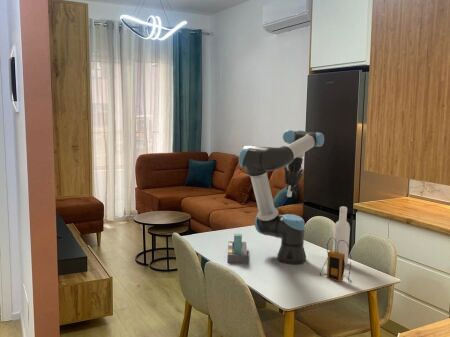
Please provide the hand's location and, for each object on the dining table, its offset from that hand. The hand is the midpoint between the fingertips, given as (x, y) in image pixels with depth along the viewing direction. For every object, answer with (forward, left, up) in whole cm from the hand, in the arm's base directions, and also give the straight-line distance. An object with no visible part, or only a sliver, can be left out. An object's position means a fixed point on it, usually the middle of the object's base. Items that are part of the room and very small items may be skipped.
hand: (288, 196), depth 258 cm
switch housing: (-6, +37, -29) cm, 48 cm away
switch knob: (-12, +40, -26) cm, 50 cm away
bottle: (-38, -6, -29) cm, 49 cm away
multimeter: (-53, +9, -29) cm, 61 cm away
